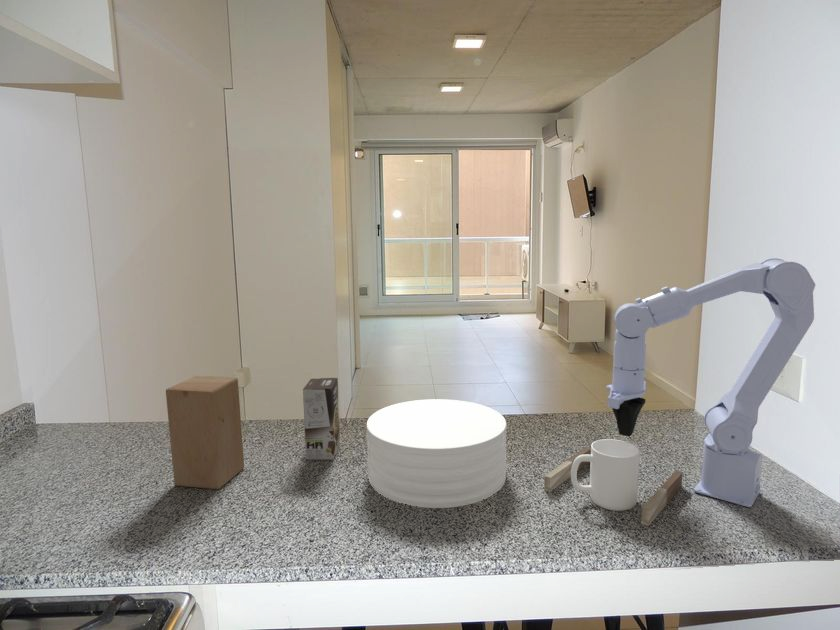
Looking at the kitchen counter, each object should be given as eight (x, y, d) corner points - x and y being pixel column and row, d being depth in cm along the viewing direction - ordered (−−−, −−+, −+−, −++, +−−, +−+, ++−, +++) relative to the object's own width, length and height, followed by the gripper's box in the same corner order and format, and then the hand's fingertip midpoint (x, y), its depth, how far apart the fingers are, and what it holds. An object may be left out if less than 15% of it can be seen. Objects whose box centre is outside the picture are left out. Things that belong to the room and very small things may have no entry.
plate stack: (466, 439, 132) (466, 392, 130) (533, 490, 106) (534, 433, 104) (352, 459, 121) (350, 409, 119) (396, 522, 95) (394, 459, 94)
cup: (644, 511, 97) (647, 456, 96) (576, 512, 97) (578, 458, 96) (626, 489, 106) (629, 438, 104) (563, 490, 106) (565, 439, 104)
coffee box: (334, 460, 121) (331, 388, 118) (305, 460, 121) (301, 389, 118) (341, 443, 130) (338, 377, 127) (314, 443, 130) (310, 377, 127)
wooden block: (219, 490, 108) (211, 391, 104) (173, 486, 110) (164, 389, 106) (245, 468, 117) (238, 377, 114) (202, 464, 119) (195, 375, 116)
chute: (681, 486, 106) (682, 472, 105) (648, 526, 93) (649, 509, 92) (585, 459, 119) (586, 446, 118) (544, 490, 105) (544, 475, 105)
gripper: (622, 356, 114) (619, 419, 116) (592, 371, 103) (590, 440, 105) (658, 361, 109) (654, 427, 111) (630, 377, 98) (627, 450, 100)
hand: (625, 434), depth 108 cm, fingers closed
